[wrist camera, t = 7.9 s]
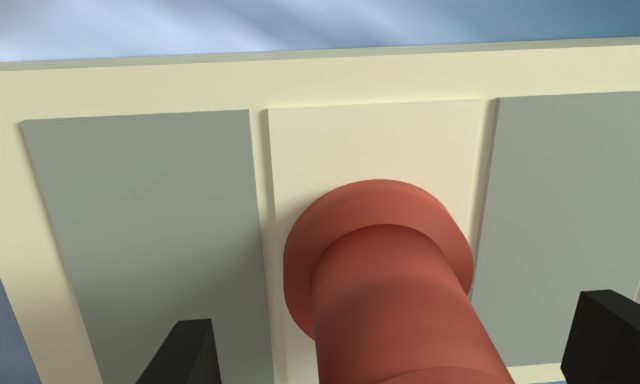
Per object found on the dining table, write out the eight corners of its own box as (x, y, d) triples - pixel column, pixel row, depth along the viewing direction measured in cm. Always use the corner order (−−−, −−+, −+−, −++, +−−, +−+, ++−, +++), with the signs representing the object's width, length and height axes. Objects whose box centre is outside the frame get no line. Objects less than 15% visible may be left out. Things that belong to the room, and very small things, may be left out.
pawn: (450, 321, 13) (623, 690, 6) (288, 333, 13) (299, 729, 6) (468, 173, 11) (743, 487, 5) (277, 184, 11) (277, 534, 4)
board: (913, 326, 16) (957, 352, 15) (70, 395, 15) (54, 429, 14) (1124, 17, 12) (1207, 23, 11) (-49, 64, 10) (-88, 77, 9)
